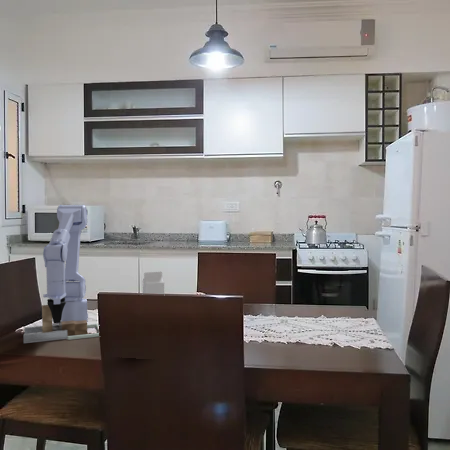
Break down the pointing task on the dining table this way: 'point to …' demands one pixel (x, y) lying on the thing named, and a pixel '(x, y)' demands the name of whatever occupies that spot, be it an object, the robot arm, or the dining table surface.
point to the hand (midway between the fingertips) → (56, 321)
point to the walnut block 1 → (69, 327)
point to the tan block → (48, 320)
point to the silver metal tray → (43, 334)
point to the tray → (85, 334)
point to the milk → (153, 283)
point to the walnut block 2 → (80, 327)
